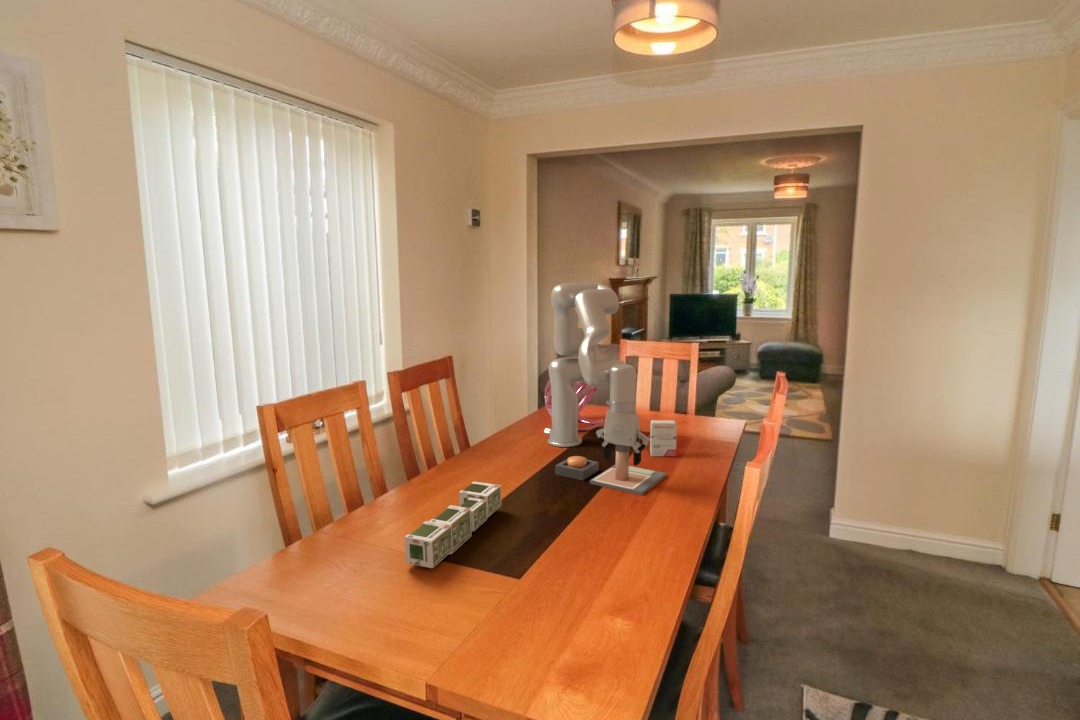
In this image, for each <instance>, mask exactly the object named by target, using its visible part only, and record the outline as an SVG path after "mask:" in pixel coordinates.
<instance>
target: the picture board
mask: <svg viewBox="0 0 1080 720" xmlns="http://www.w3.org/2000/svg"><path fill="white" fill-rule="evenodd" d="M666 477H667V472H664V471H658V470H652V469H649V468H648V469H647V468H642V467H638V466H634V465H633V466H632V465H629V478H628V480H624V481H621V480H617V479H615V464H613V465H612V466H610V467H609V468H607V469H606V470H603V472H601V473H599V474H597V475H596V476H594V477H593V478H590V480H589V484H590V485H594V486H599V487H604V488H607V489H612V490H617V491H622V492H624V493H625V492H626V493H629V492H630V494H634V495H638V496H643V495H644V494H646V493H647V492H648V491H649V490H651V489H652V488H653V487H655V486H656V485H657V484H658V483H660V482H661V481H662V480H663V479H664V478H666Z"/></svg>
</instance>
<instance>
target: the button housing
mask: <svg viewBox="0 0 1080 720" xmlns="http://www.w3.org/2000/svg"><path fill="white" fill-rule="evenodd" d="M599 464H600V463H599V461H595V460H590V459H587V465H586V466H585V467H583V468H581V469H580V468H575V467H570V466H568V458H567V459H564V460H563V461H561V462H558V463H557V464H555V465H554V470H555V472H554V473H555V474H554V475H556V476H560V477H566V478H569V479H574V480H579V481H584V480H586V479H588V478H590V477H591V476H593V475H594V474H596V473H598V472H599V470H600V469H599ZM597 471H598V472H597ZM592 474H593V475H592Z"/></svg>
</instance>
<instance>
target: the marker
mask: <svg viewBox="0 0 1080 720" xmlns="http://www.w3.org/2000/svg"><path fill="white" fill-rule="evenodd" d="M614 446H615V449H614V450H615V459H614V460H615V463H614V465H615V479H617V480H621V481H624V480H628V478H629V466H630V465H629V464H630V447H631V446H623V445H617V444H614Z"/></svg>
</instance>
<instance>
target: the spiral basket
mask: <svg viewBox="0 0 1080 720" xmlns="http://www.w3.org/2000/svg"><path fill="white" fill-rule="evenodd" d="M575 384H576V383H573V384H571V386H572V387H574V385H575ZM599 387H600V386H595V387H593V386H589V385H588V384H587V383H586V382H582V383H577V385H576V387H575V388H573V389H574V390H575V391H576V393H577V397H578V402H579V401H580V402H579V403H578V422H581V423H583V424H587V423H588V424H587V425H592V426H589V427H582V428H581V427H578V432H583V431H584V432H585V431H589V430H592V429H595V428H598V427H599V426H601V425H602V424H603V423H605V419H601V420H596V421H595V420H591V419H588V418H585V417H583V416H581V414H580V413H581V412H582V411H583V409H585V407H586V406H587V405H588V403H589V402H590V401H591V399H592V398H593V397H594V395H595V394H596V392H597V391H598V389H599ZM587 391H588V392H587ZM586 392H587V393H586ZM584 395H585V396H584ZM583 396H584V397H583ZM582 397H583V399H582ZM580 399H582V400H580ZM544 403H545V404H544V405H545V407H546V409H547V413H549V415H550V417H551V418H552V393H551V382H550V379H549V380H548V381H547V383H546V385H545V388H544Z"/></svg>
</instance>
